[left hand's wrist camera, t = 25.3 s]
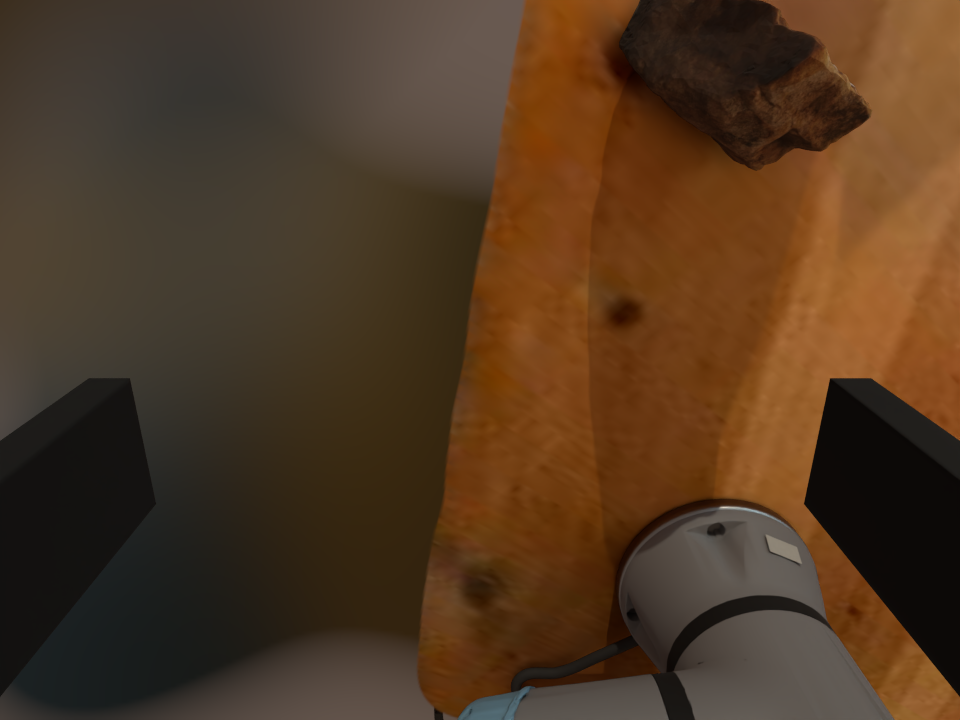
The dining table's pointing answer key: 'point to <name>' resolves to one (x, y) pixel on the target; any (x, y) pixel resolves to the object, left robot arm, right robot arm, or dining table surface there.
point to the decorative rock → (742, 76)
